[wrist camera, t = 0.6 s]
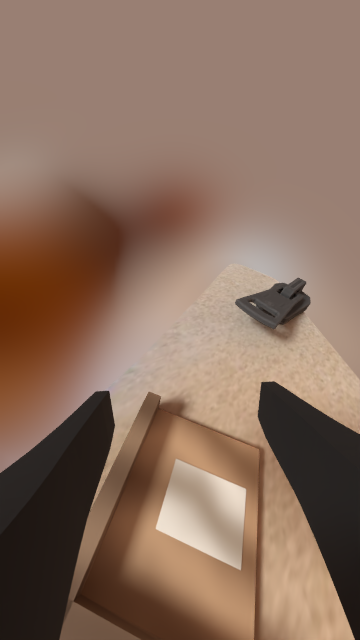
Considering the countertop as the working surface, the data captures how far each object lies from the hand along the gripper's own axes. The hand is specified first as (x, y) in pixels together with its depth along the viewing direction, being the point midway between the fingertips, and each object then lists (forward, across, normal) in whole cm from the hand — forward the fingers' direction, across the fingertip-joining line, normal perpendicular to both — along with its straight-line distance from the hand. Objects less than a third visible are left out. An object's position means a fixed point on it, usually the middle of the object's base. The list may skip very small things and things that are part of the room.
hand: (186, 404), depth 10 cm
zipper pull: (+35, -21, +7) cm, 41 cm away
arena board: (+5, +1, +16) cm, 17 cm away
